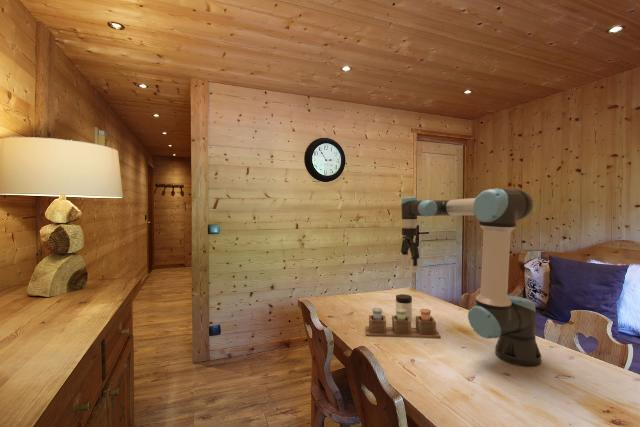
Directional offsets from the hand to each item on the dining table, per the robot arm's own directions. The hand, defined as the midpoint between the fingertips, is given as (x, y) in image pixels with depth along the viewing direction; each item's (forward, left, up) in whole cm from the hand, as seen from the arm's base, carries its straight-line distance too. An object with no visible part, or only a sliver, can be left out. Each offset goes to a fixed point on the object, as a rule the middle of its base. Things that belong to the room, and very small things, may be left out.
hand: (409, 269), depth 160 cm
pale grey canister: (-13, +17, -23) cm, 31 cm away
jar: (+6, +2, -27) cm, 28 cm away
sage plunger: (-13, +6, -23) cm, 27 cm away
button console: (-13, +6, -27) cm, 31 cm away
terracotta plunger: (-13, -5, -23) cm, 27 cm away
